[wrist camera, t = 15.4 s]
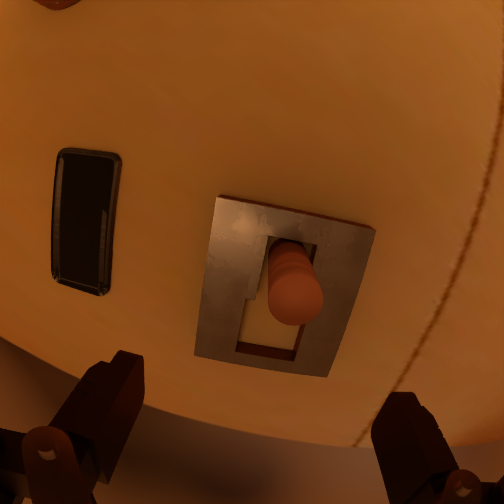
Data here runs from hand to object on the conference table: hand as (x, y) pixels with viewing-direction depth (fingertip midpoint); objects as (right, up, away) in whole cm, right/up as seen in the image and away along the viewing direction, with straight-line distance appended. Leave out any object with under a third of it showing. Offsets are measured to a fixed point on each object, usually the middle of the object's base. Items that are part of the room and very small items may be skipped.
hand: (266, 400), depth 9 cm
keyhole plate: (+2, +1, +21) cm, 21 cm away
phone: (-18, +8, +21) cm, 29 cm away
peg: (+3, +4, +20) cm, 21 cm away
